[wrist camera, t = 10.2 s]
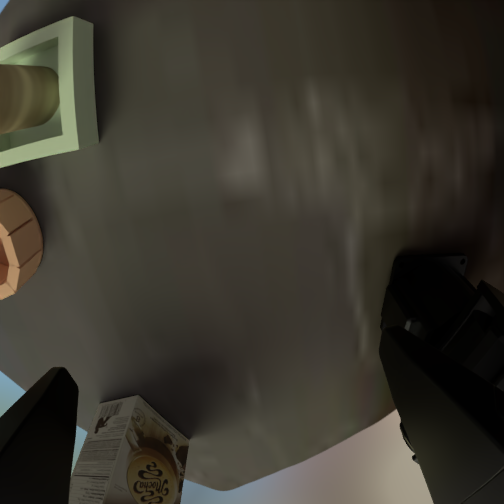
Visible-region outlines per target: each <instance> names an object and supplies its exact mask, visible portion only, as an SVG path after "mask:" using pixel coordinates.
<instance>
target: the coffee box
mask: <svg viewBox="0 0 504 504" xmlns="http://www.w3.org/2000/svg"><path fill="white" fill-rule="evenodd" d="M188 447H189V440H188V439H187V438H186V437H185V436H183V435H182V434H181V433H180V432H179V431H178V430H176V429H175V428H174V427H173V426H172V425H171V424H169V423H168V422H167V421H166V420H165V419H164V418H163V417H162V416H160V415H159V414H158V413H157V412H156V411H155V410H154V409H153V408H152V407H151V406H150V405H149V404H148V403H147V402H145V401H144V400H143V399H142V398H141V397H140V396H139V395H136V396H132V397H127V398H123V399H118V400H114V401H109V402H104V403H100V404H99V406H98V409H97V411H96V414H95V416H94V419H93V421H92V424H91V426H90V429H89V431H88V434H87V437H86V439H85V441H84V444H83V447H82V449H81V452H80V455H79V457H78V460H77V462H76V465H75V468H74V471H73V473H72V476H71V480H70V492H69V504H180V502H181V495H182V487H183V481H184V475H185V467H186V460H187V454H188Z"/></svg>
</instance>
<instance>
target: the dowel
mask: <svg viewBox="0 0 504 504" xmlns="http://www.w3.org/2000/svg"><path fill="white" fill-rule="evenodd" d="M59 104H60V97H59V76H58V75H57V73H56V72H55V71H54V70H53V69H51V68H49V67H45V66H31V65H11V64H0V135H1V134H5V133H9V132H13V131H17V130H22V129H26V128H31V127H36V126H40V125H43V124H45V123H46V122H48V121H49V120H50V119H51V118H52V117H53V115H54V114H55V112H56V111H57V109H58V106H59Z"/></svg>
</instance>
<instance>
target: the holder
mask: <svg viewBox="0 0 504 504" xmlns="http://www.w3.org/2000/svg"><path fill="white" fill-rule="evenodd" d="M42 256H43V237H42V232H41V228H40V225H39V223H38V220H37V218H36V216H35V214H34V212H33V210H32V209H31V207H30V206H29V204H28V203H27V202H26V201H25V200H24V199H23V198H22V197H21V196H20V195H19V194H17V193H16V192H14V191H12V190H9V189H3V188H2V189H0V299H1V300H2V299H4V298H6V297H8V296H10V295H12V294H14V293H16V292H17V291H18V290H19V289H20V288H21V287H22V286H23V285H24V284H25V283H26V282H27V281H28V280H29V279H30V278H31V277H32V276H33V275H34V274H35V272H36V270H37V268H38V266H39V265H40V263H41V260H42Z"/></svg>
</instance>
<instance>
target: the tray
mask: <svg viewBox="0 0 504 504" xmlns="http://www.w3.org/2000/svg"><path fill="white" fill-rule="evenodd" d="M0 64H11V65H31V66H45V67H49V68H51V69H53V70H54V71H55V72H56V73H57V75H58V76H59V97H60V104H59V106H58V109H57V111H56V112H55V114H54V115H53V117H52V118H51V119H50V120H49V121H48V122H46V123H45V124H43V125H40V126H36V127H31V128H26V129H22V130H17V131H13V132H9V133H5V134H1V135H0V168H2V167H5V166H9V165H13V164H17V163H20V162H24V161H28V160H33V159H37V158H41V157H45V156H50V155H55V154H59V153H64V152H69V151H74V150H79V149H82V148H85V147H88V146H91V145H94V144H98V143H99V137H98V128H97V116H96V104H95V87H94V61H93V23H90V22H88V21H85V20H83V19H80V18H78V17H75V16H72V17H69V18H66V19H63V20H61V21H58V22H56V23H53V24H51V25H48V26H46V27H43V28H41V29H39V30H37V31H34V32H32V33H30V34H28V35H26V36H23V37H21V38H19V39H17V40H15V41H13V42H11V43H9V44H7V45H5V46H3V47H1V48H0Z"/></svg>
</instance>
